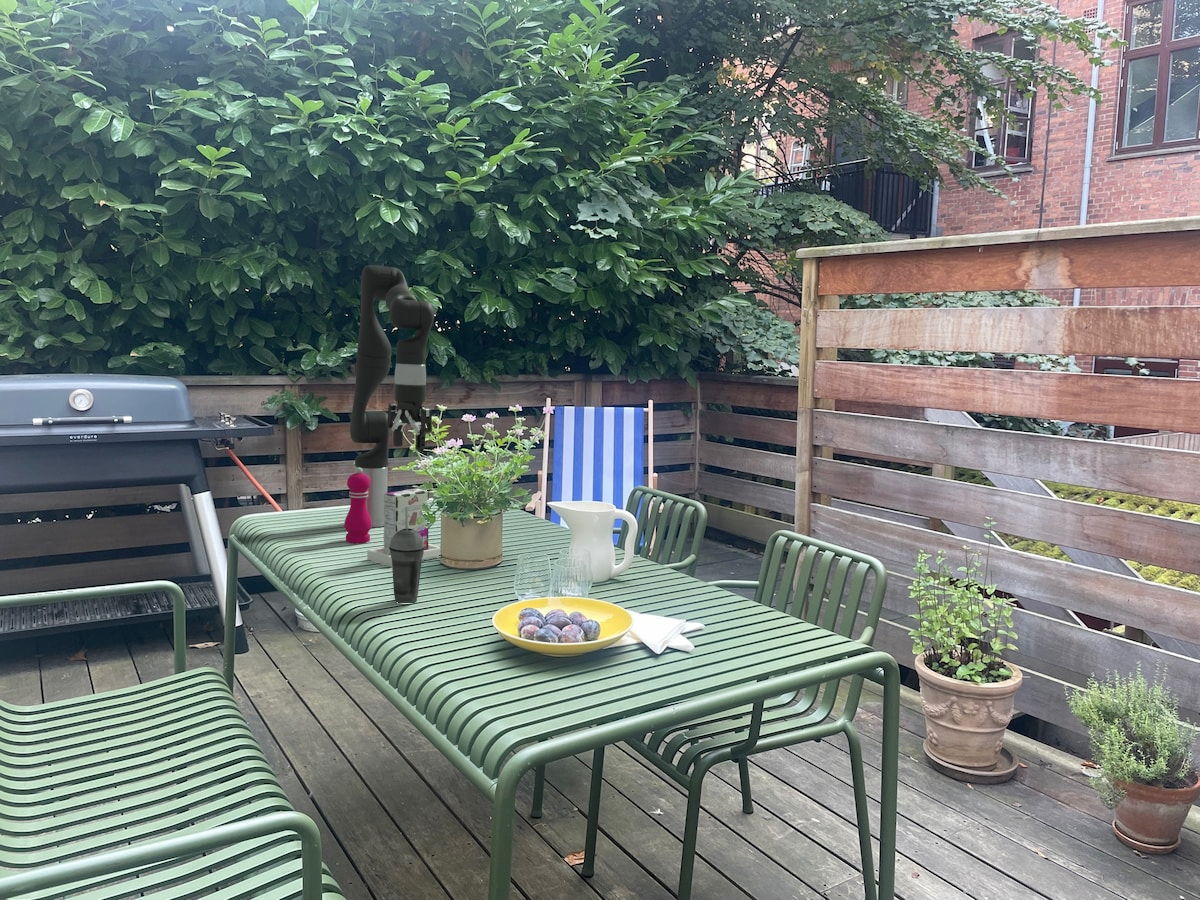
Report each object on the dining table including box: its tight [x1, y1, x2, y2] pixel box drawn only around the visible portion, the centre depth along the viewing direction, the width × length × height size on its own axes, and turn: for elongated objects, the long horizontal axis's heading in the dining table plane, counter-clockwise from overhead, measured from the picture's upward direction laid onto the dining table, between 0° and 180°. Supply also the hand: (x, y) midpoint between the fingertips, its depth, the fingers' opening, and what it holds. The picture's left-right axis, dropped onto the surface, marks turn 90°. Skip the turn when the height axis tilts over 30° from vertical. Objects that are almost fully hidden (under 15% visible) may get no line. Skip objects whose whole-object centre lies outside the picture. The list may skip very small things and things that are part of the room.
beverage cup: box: [389, 507, 425, 604], centre depth 184 cm, size 7×7×20 cm
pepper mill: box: [343, 467, 373, 544], centre depth 236 cm, size 7×7×20 cm
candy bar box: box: [383, 488, 430, 555], centre depth 220 cm, size 11×5×16 cm, turn 147°
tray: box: [366, 543, 441, 568], centre depth 221 cm, size 10×16×2 cm, turn 141°
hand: (408, 448), depth 218 cm, fingers open, 8 cm apart
